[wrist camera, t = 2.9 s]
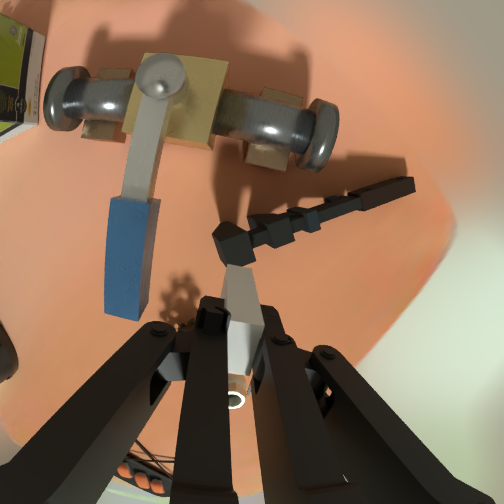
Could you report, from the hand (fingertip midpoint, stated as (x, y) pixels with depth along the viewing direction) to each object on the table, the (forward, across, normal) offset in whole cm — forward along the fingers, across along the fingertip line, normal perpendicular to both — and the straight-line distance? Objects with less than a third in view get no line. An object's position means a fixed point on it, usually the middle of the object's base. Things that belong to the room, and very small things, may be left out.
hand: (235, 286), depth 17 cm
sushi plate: (+16, +8, +55) cm, 58 cm away
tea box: (+15, +35, -15) cm, 41 cm away
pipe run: (+15, +7, -12) cm, 21 cm away
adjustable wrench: (+16, -10, -5) cm, 19 cm away
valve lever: (+3, +7, -5) cm, 9 cm away
